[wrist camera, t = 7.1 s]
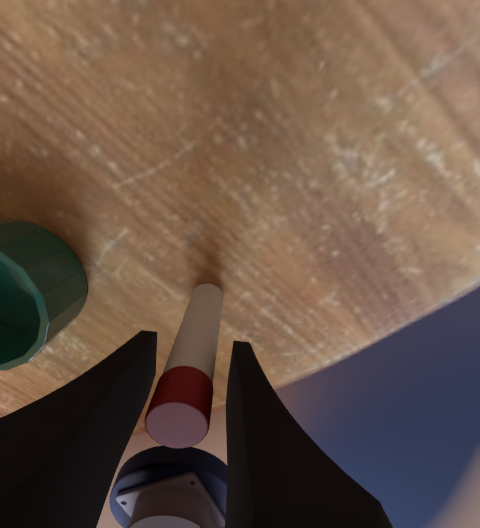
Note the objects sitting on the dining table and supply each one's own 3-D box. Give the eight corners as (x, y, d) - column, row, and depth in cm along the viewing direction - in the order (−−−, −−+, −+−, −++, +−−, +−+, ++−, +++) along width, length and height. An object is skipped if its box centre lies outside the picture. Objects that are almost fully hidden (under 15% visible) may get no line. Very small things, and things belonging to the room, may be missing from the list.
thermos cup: (110, 308, 16) (77, 343, 13) (14, 345, 17) (-39, 387, 14) (40, 198, 14) (-20, 208, 11) (-64, 247, 15) (-150, 270, 12)
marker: (228, 304, 16) (219, 439, 8) (199, 315, 16) (162, 456, 8) (215, 277, 16) (191, 392, 8) (185, 288, 16) (131, 412, 8)
